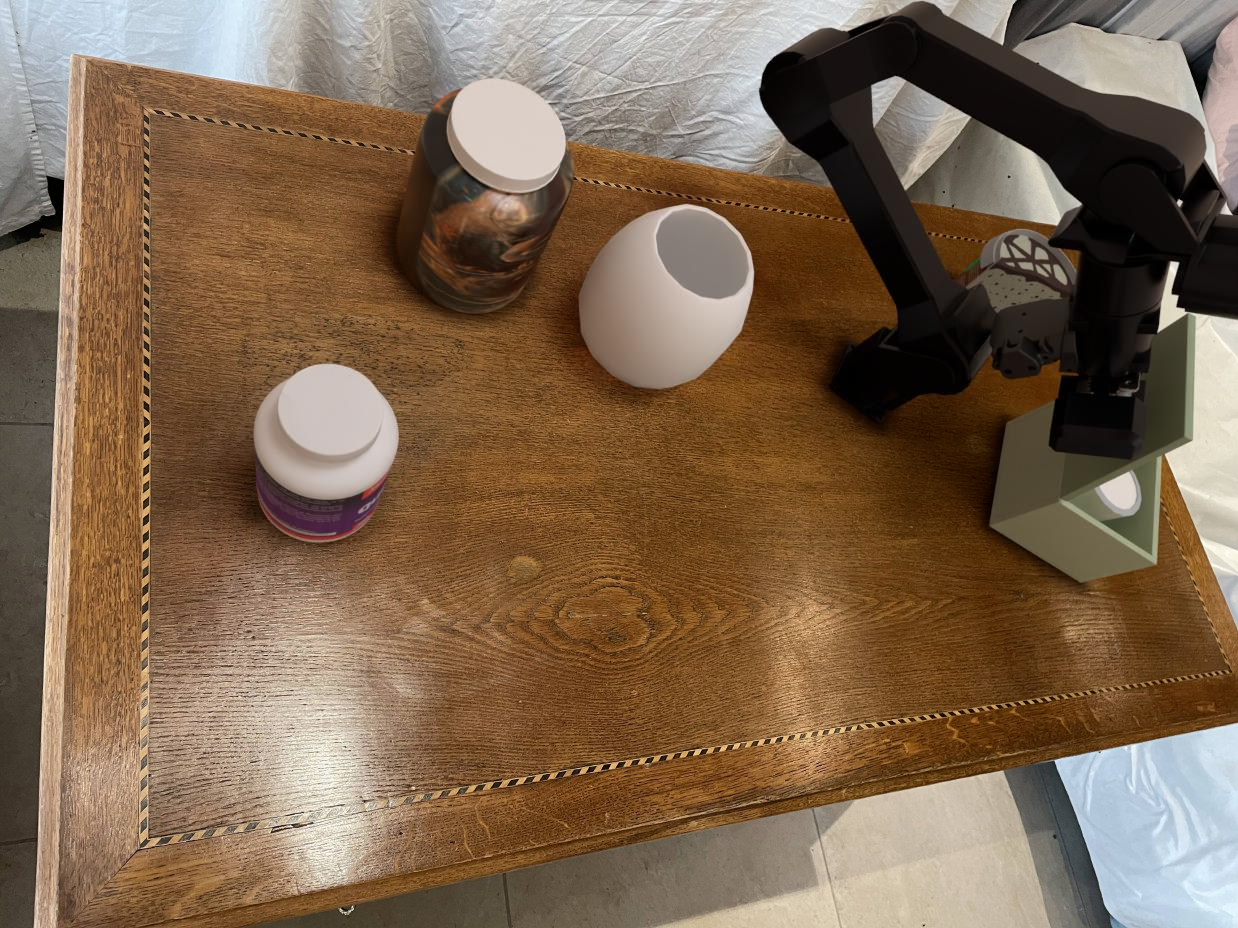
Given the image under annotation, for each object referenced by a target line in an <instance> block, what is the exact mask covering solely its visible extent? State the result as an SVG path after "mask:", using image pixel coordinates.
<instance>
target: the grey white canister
mask: <svg viewBox="0 0 1238 928" xmlns="http://www.w3.org/2000/svg"><path fill="white" fill-rule="evenodd" d="M1068 502H1070V503H1071V504H1073V505H1074V506H1076V507H1077V508H1079V509H1080V510H1082V511H1084V512H1085V513H1087V514H1088V515H1090V516H1091V517H1093V518H1094V519H1096V520H1097V521H1099V522H1100V521H1105V520H1110V519H1115V518H1120V517H1125V516H1130V515H1134V514H1135V513H1136V512H1137V510H1138V509H1139V507H1140V503H1141V491H1140V485H1139V483H1138V481H1137V478H1136V476H1135V473H1134V472H1133V471H1132V470H1131V471H1129V472H1127V473H1125V474H1123V475H1121V476H1119V477H1117V478H1115V479H1113V480H1111V481H1108V482H1106V483H1104V484H1102V485H1100V486H1098V487H1096V488H1094V489H1092V490H1090V491H1088V492H1086V493H1084V494H1082V495H1080V496H1078V497H1076V498H1073V499H1071V500H1069V501H1068Z"/></svg>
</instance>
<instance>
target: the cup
mask: <svg viewBox="0 0 1238 928" xmlns="http://www.w3.org/2000/svg"><path fill="white" fill-rule="evenodd" d="M752 257H753V256H752V252H751V250H750V249H749V247H748V244H747V242H746V241H745V238H744V237H743V235H742V234H741V232H740V231H738V229H736V228H735V226H734V225H732V223H730V221H729V220H728V219H727V218H725V217H724V216H722V215H720V214H718V213H717V212H714V211H713V210H711V209H709V208H708V207H704V206H699V205H695V204H689V203H682V204H679V205H674V206H668V207H664V208H660V209H657V210H653V211H648V212H646V213H644V214H642V215H641V216H639V217H636V218H635V219H633V220H631V221H630V222H629V223H628V224H626V225H624V227H622V228H620V230H619V231H618V232H616V233H615V234H614V235H612V237H611V238H610V239H609V240H608V242H607V243H606V244H605V245H604V246H603V247H602V249H600V251H599V252H598V254H597V255H596V257H595V259H594V260H593V262H592V264H591V266H590V267H589V269H588V271H587V272H586V276H585V278H584V280H583V283H582V286H581V288H580V291H579V293H578V312H579V326H580V327H579V328H580V334H581V336H582V338H583V340H584V343H585V344H586V346H587V348H588V350H589V353H590V354H591V356H592V358H594V360H595V361H596V362H597V363H598V364H599V365H600V366H601V367H603V369H604V370H605V371H607V373H609V374H610V375H611V376H612V377H614V378H616V379H619V380H620V381H622V382H625V383H626V384H628V385H631V386H633V387H635V388H642V389H643V388H644V389H655V390H662V389H669V388H673V387H676V386H679V385H682V384H685V383H688V382H691V381H694V380H697V378H699V377H700V376H701V375H702V374H703V373H704V372H706V371H707V370H708V369H709V368H711V366H712V365H713V364H714V363H715V362H716V361H717V360H718V359H719V358H720V357H721V356H722V355H723V354H724V352H726V351H727V349H728V348H729V347H730V346H731V344H732V343H733V342H734V341H735V339H736V338H737V337H738V336H739V335H740V333H741V332H742V329H743V328H744V323H745V320H746V317H747V314H748V310H749V306H750V303H751V299H752V295H753V291H754V279H755V278H754V276H755V270H754V264H753V263H754V262H753V258H752Z"/></svg>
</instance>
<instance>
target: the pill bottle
mask: <svg viewBox="0 0 1238 928" xmlns="http://www.w3.org/2000/svg"><path fill="white" fill-rule="evenodd" d="M399 439H400V435H399V425H398V421H397V417H396V415H395V412H394V411H393V408H392V406H391V405H390V403H389V402H388V400H387V399H386V397H384V395H383V394H382V393H381V392H380V391H379V390H378V389H377V387H376V386H375V384H374V383H373V382H372V381H371V380H370V379H369V378H368V377H366V376H365V374H363V373H361V372H360V371H357V370H356V369H354V368H352V367H349V366H346V365H342V364H338V363H337V364H336V363H320V364H319V363H318V364H314V365H310V366H307V367H304V368H303V369H301V370H299V371H297V372H296V373H294V374H293V375H292V376H290V377H289V378H287V379H285V380H283V381H281V382H280V383H278V384H277V385H276V386H275V387H274V388H273V389H271V391H270V392H269V393H268V394H267V395H266V396H265V398H264V399H263V401H262V402H261V404H260V406H259V408H258V410H257V412H256V415H255V419H254V423H253V447H254V459H255V479H256V480H255V481H256V483H255V484H256V493H257V498H258V503H259V505H260V507H261V510H262V512H263V513H264V515H265V516H266V518H267V520H268V521H270V522H271V524H272V525H273V526H275V527H276V528H277V529H278V530H279V531H281V532H282V533H284V534H285V535H287V536H288V537H291V538H294V539H296V540H299V541H303V542H308V543H330V542H336V541H339V540H342V539H345V538H347V537H349V536H352V534H354V533H356V532H357V531H359V530H360V529H361V528H362V527H364V526H365V525H366V524H367V523H368V521H369V520H371V518H372V516H373V515H374V513H375V511H376V509H377V507H378V504H379V502H380V499H381V496H382V493H383V491H384V487H385V485H386V483H387V480H388V477H389V474H390V471H391V469H392V466H393V464H394V461H395V458H396V455H397V452H398V448H399Z"/></svg>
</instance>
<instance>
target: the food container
mask: <svg viewBox="0 0 1238 928" xmlns="http://www.w3.org/2000/svg"><path fill="white" fill-rule="evenodd" d="M1049 239H1050V238H1047V237H1046V236H1045V235H1043V234H1041V233H1039V232H1038V231H1034V230H1031V229H1026V228H1017V229H1012V230H1008V231H1005V232H1003V233H1001V234H999V235H996V236H994V237H993V238H991V239H989V240H988V241H987V242H986V243H985V245H984V246H983V248H982V250H981V254H980V256H979V257H978V258H977V259H976V260H975V261H973V262H972V263H971V264H970V265H969V266H967V268H965V269H964V271H962V272H961V273H960V274H959V275H957V276H956V277H955V278H954V279H953V280H954V281H956V282H958V283H959V284H961V285H962V286H964V287H965V288H967V289H970V288H971V287H973V286H975V285H977V284H979V283H982V284H983V285H984V287H985V288H986V290H987V293H988V297H989V300H990V303H991V305H992V307H993V308H994V310H995V311H996V312H997V313H998V312H999V311H1000V310H1002V309H1004V308H1006V307H1010V306H1015V305H1019V304H1024V303H1028V302H1033V301H1038V300H1042V299H1061V298H1069V297H1070V290H1071V285H1072V284H1075V279H1076V273H1077V269H1076V268H1075V267H1074V265H1073V263H1072V262H1071V260H1070V259H1069V258H1068V256H1067V255H1066V253H1064V252H1063V250H1062V249H1060V248H1053V247H1050V246H1049V245H1048V240H1049Z"/></svg>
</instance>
